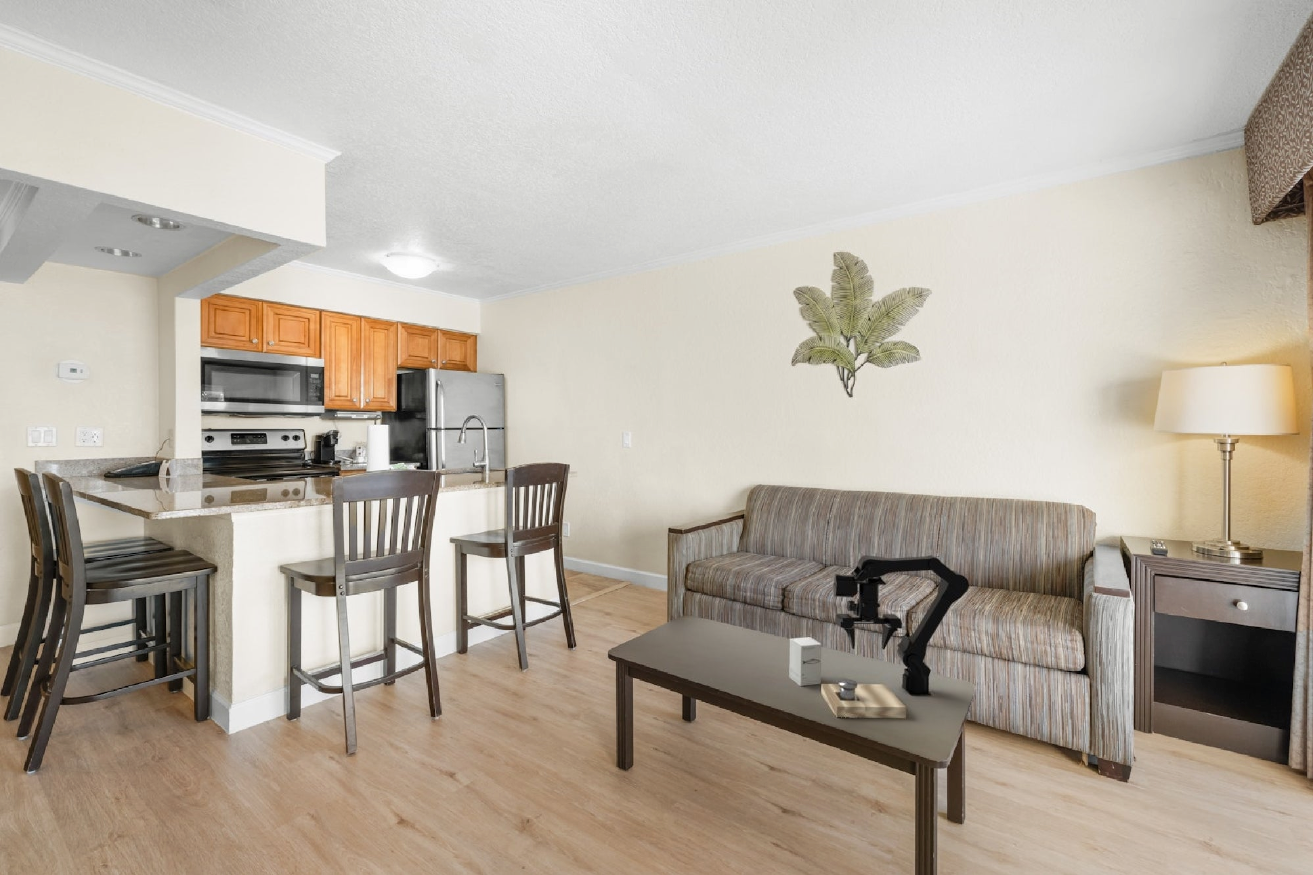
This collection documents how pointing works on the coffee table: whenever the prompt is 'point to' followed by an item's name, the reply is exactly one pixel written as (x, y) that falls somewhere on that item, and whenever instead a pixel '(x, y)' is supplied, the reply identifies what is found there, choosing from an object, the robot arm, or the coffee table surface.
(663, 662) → the coffee table surface
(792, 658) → the supplement box
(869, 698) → the plate
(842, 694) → the flared metal knob
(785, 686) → the coffee table surface
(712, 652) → the coffee table surface
